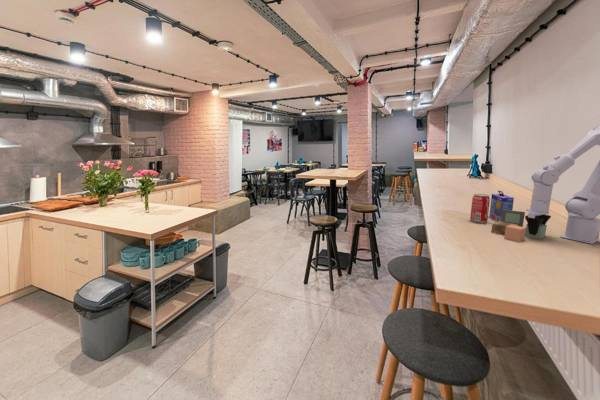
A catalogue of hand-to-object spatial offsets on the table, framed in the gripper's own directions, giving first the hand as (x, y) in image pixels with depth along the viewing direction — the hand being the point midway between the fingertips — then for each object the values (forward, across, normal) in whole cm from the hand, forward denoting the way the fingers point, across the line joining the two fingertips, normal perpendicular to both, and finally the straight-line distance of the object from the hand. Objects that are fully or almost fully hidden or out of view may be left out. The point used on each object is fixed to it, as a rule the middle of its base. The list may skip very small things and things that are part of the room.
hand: (535, 233), depth 117 cm
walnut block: (+2, +5, -9) cm, 10 cm away
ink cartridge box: (+2, -17, -20) cm, 26 cm away
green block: (+1, 0, 0) cm, 1 cm away
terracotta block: (+2, +11, -3) cm, 12 cm away
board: (+1, -7, -11) cm, 13 cm away
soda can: (+2, -5, -24) cm, 25 cm away
